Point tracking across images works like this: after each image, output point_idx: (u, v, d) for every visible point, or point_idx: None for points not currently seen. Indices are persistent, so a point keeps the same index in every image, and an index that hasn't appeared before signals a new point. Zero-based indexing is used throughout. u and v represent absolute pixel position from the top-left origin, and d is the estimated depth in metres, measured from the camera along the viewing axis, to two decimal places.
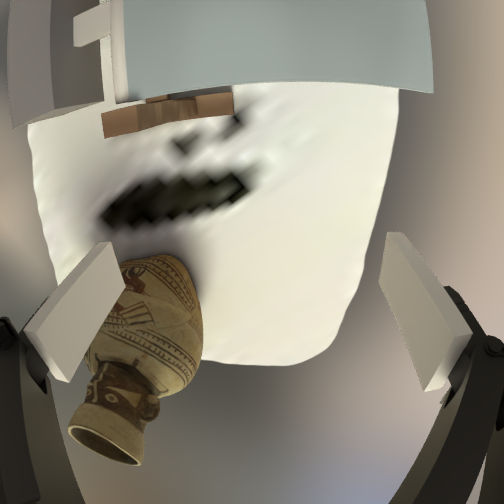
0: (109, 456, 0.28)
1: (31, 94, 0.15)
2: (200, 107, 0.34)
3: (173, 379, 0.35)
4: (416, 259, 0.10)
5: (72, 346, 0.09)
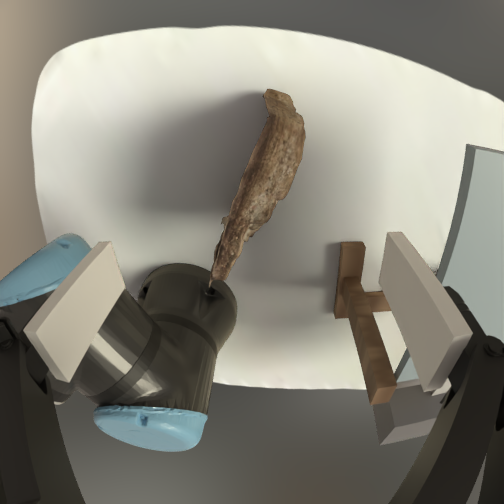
0: None
1: None
2: None
3: None
4: (416, 259, 0.10)
5: (72, 346, 0.09)
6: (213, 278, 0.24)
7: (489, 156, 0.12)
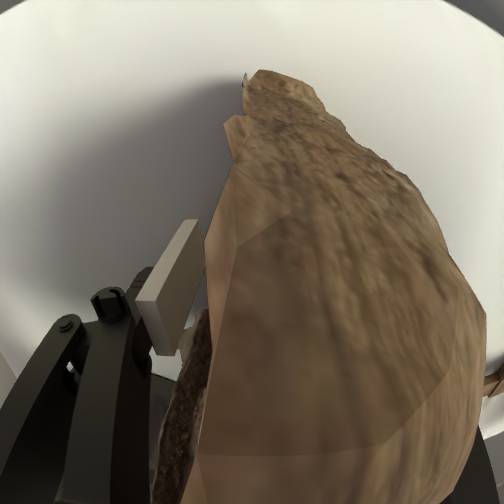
0: None
1: None
2: None
3: None
4: None
5: (177, 318, 0.11)
6: None
7: None
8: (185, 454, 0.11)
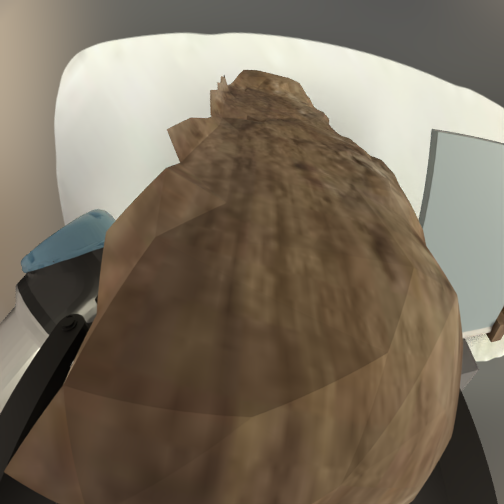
0: None
1: None
2: None
3: None
4: None
5: None
6: None
7: (451, 137, 0.16)
8: None
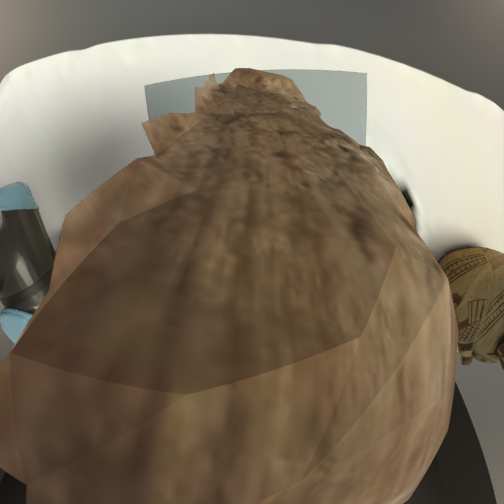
0: None
1: None
2: None
3: None
4: None
5: None
6: None
7: (160, 86, 0.18)
8: None
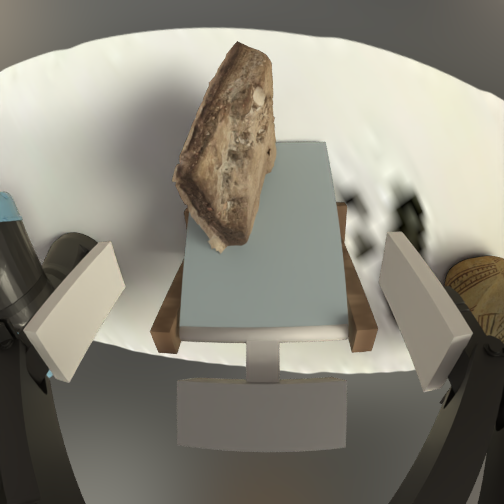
0: None
1: (321, 413, 0.21)
2: None
3: None
4: (416, 259, 0.10)
5: (72, 346, 0.09)
6: (180, 169, 0.17)
7: None
8: (208, 203, 0.20)
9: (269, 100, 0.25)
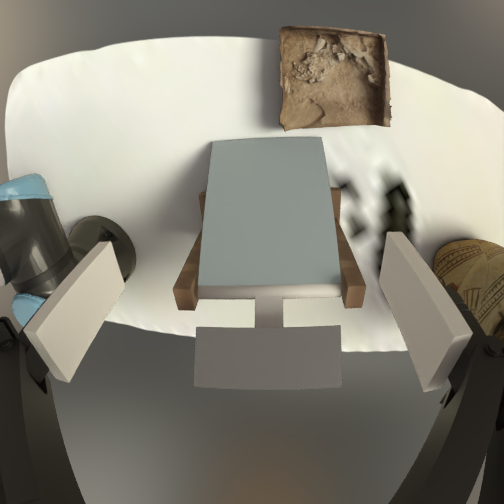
0: None
1: (319, 353, 0.26)
2: None
3: None
4: (416, 259, 0.10)
5: (72, 346, 0.09)
6: (379, 35, 0.29)
7: (221, 142, 0.41)
8: (380, 60, 0.32)
9: (293, 68, 0.35)
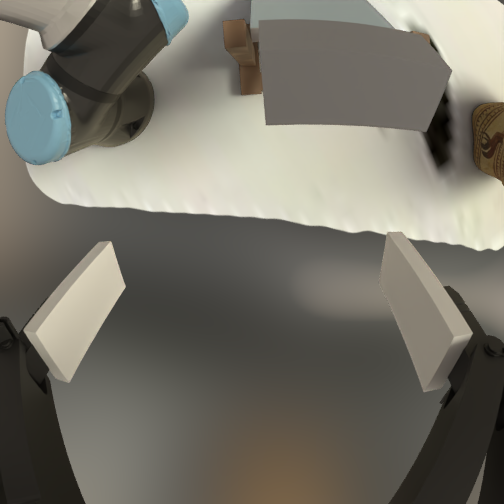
0: None
1: (411, 43, 0.16)
2: None
3: None
4: (416, 259, 0.10)
5: (72, 346, 0.09)
6: None
7: None
8: None
9: None
